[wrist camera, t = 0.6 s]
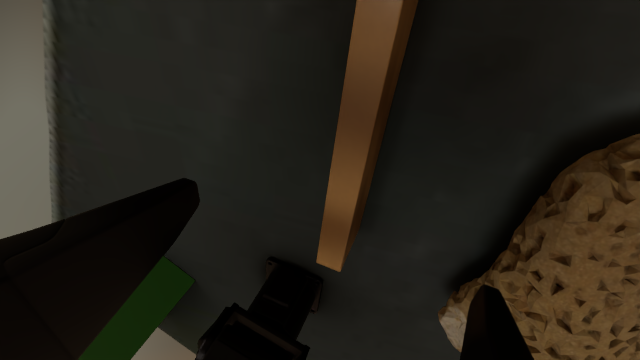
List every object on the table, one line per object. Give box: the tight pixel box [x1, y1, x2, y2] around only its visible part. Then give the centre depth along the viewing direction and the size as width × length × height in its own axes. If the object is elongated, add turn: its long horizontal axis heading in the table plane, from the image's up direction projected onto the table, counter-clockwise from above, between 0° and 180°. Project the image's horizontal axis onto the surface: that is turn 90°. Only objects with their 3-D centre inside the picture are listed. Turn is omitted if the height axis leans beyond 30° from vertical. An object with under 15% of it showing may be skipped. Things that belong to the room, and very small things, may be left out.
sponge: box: [438, 134, 640, 360], centre depth 21 cm, size 13×8×20 cm
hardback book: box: [78, 256, 195, 360], centre depth 45 cm, size 18×7×24 cm, turn 145°
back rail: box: [316, 0, 418, 272], centre depth 20 cm, size 26×2×5 cm, turn 173°
